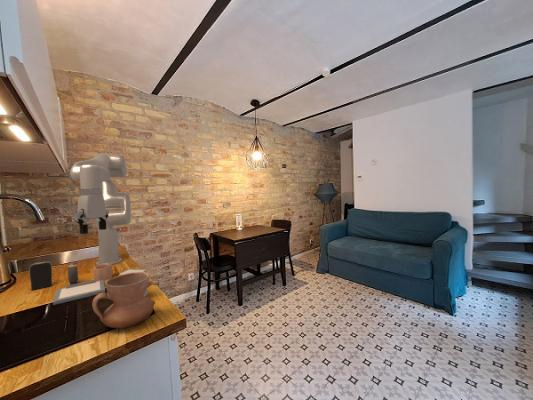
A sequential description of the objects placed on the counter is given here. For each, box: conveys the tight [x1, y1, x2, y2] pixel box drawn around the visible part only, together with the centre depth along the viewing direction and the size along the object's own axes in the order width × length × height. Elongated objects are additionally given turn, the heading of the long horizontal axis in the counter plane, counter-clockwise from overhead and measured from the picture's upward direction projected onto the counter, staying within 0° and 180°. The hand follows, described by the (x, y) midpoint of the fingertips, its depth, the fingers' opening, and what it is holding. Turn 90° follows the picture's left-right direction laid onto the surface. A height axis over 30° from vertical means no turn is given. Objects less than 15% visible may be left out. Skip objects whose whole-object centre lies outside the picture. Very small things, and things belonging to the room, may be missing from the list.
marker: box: [67, 261, 79, 285], centre depth 103 cm, size 4×4×10 cm
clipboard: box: [52, 279, 106, 306], centre depth 95 cm, size 14×16×2 cm
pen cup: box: [93, 264, 113, 282], centre depth 109 cm, size 7×7×6 cm
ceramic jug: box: [91, 272, 158, 329], centre depth 74 cm, size 18×14×14 cm
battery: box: [28, 260, 53, 291], centre depth 100 cm, size 7×4×11 cm, turn 132°
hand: (93, 231), depth 99 cm, fingers open, 9 cm apart
